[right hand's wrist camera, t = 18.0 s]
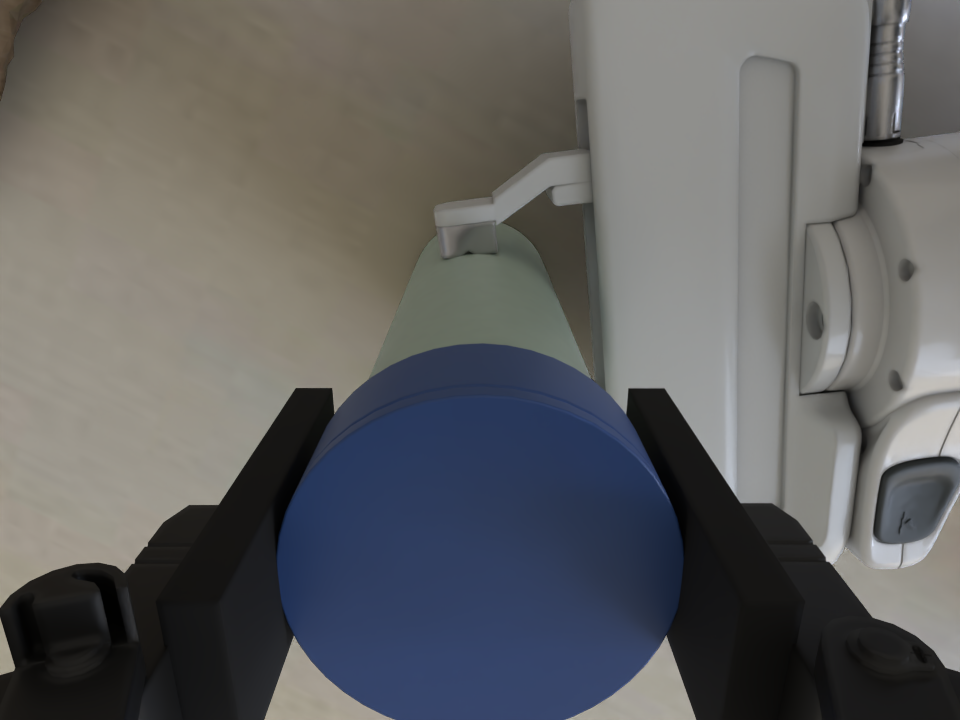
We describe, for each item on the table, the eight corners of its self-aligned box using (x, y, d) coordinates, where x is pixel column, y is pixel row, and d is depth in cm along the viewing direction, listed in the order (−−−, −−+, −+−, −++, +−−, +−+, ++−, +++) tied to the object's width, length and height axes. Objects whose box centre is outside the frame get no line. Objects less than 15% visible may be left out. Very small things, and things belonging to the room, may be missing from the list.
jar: (451, 194, 26) (404, 338, 10) (571, 260, 27) (717, 497, 11) (390, 312, 28) (259, 610, 11) (505, 371, 29) (540, 727, 12)
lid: (245, 525, 13) (197, 610, 11) (449, 267, 11) (441, 306, 9) (504, 686, 14) (509, 790, 12) (721, 477, 12) (772, 555, 10)
